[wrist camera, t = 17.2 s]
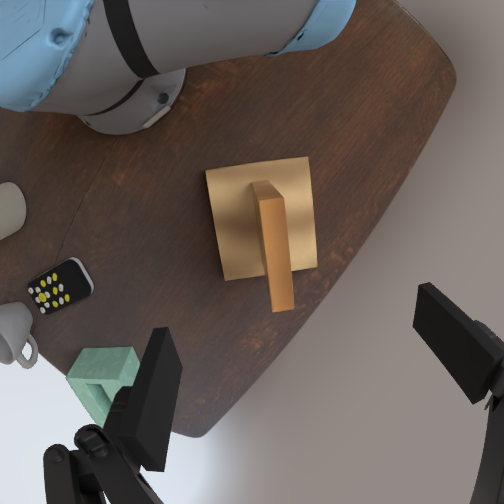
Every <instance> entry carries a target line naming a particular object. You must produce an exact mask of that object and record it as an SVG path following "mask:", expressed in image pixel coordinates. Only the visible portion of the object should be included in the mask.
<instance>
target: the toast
mask: <svg viewBox="0 0 504 504" xmlns="http://www.w3.org/2000/svg"><path fill="white" fill-rule="evenodd" d="M251 184H252V192H253V199H254V206H255V214H256V221H257V229H258V236H259V244H260V251H261V259H262V265H263V269H264V274H265V279H266V284H267V289H268V293H269V298H270V303H271V308H272V312H279V311H286V310H292V309H294V295H293V283H292V271H291V260H290V250H289V239H288V229H287V219H286V210H285V201H284V197H283V196H282V195H281V194H280V193H279V191H278V190H277V189H276V188H275V187H274V186H273V185H272V184H271V183H270V182H269V181H268V180H264V181H257V182H251Z"/></svg>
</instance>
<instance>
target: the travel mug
mask: <svg viewBox="0 0 504 504" xmlns="http://www.w3.org/2000/svg"><path fill="white" fill-rule="evenodd" d="M25 218H26V204H25V199H24V196H23V194H22V192H21V190H20V189H19V187H18V186H16V185H15V184H14V183H11V182H6V183H3V184H0V240H1V239H3V238H5V237H7V236H9V235H11V234H13V233H14V232H16V231H18V230H19V229H21V227H22V226H23V224H24V221H25Z"/></svg>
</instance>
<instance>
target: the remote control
mask: <svg viewBox="0 0 504 504" xmlns="http://www.w3.org/2000/svg"><path fill="white" fill-rule="evenodd" d="M93 289H94V286H93V282H92V281H91V279H90V277H89V275H88V274H87V272H86V270H85V268H84V266H83V265H82V263H81V261H80V260H79V259H77V258H75V257H71V258H69V259H67V260H65V261H63V262H62V263H60V264H58V265H57V266H55V267H53V268H51V269H50V270H48V271H46V272H45V273H43V274H41V275H39V276H38V277H36V278H35V279H33V280H32V281H30V282H29V284H28V291H29V293H30V295H31V297H32V299H33V300H34V302H35V304H36V305H37V307H38V308H39V310H40V311H41V312H42V313H43V314H46V315H48V314H51V313H53V312H55V311H57V310H60V309H62V308H64V307H66V306H68V305H71V304H73V303H75V302H77V301H79V300H82V299H84V298H86V297H88V296H89V295H90V294H91V293H92V292H93Z"/></svg>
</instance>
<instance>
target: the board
mask: <svg viewBox="0 0 504 504" xmlns="http://www.w3.org/2000/svg"><path fill="white" fill-rule="evenodd" d="M205 173H206V179H207V185H208V191H209V197H210V202H211V208H212V214H213V219H214V225H215V230H216V236H217V241H218V247H219V252H220V257H221V263H222V268H223V273H224V278H225V281H228V280H235V279H242V278H249V277H256V276H262V275H265V274H264V269H263V265H262V259H261V251H260V244H259V236H258V229H257V221H256V214H255V206H254V199H253V192H252V184H251V182H257V181H264V180H268V181H269V182H270V183H271V184H272V185H273V186H274V187H275V188H276V189H277V190H278V191H279V193H280V194H281V195H282V196H283V197H284V201H285V210H286V219H287V229H288V239H289V250H290V260H291V271H295V270H302V269H308V268H314V267H317V253H316V238H315V225H314V213H313V201H312V191H311V181H310V171H309V162H308V157H296V158H287V159H278V160H270V161H262V162H255V163H248V164H241V165H234V166H227V167H221V168H215V169H209V170H206V171H205Z"/></svg>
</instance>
